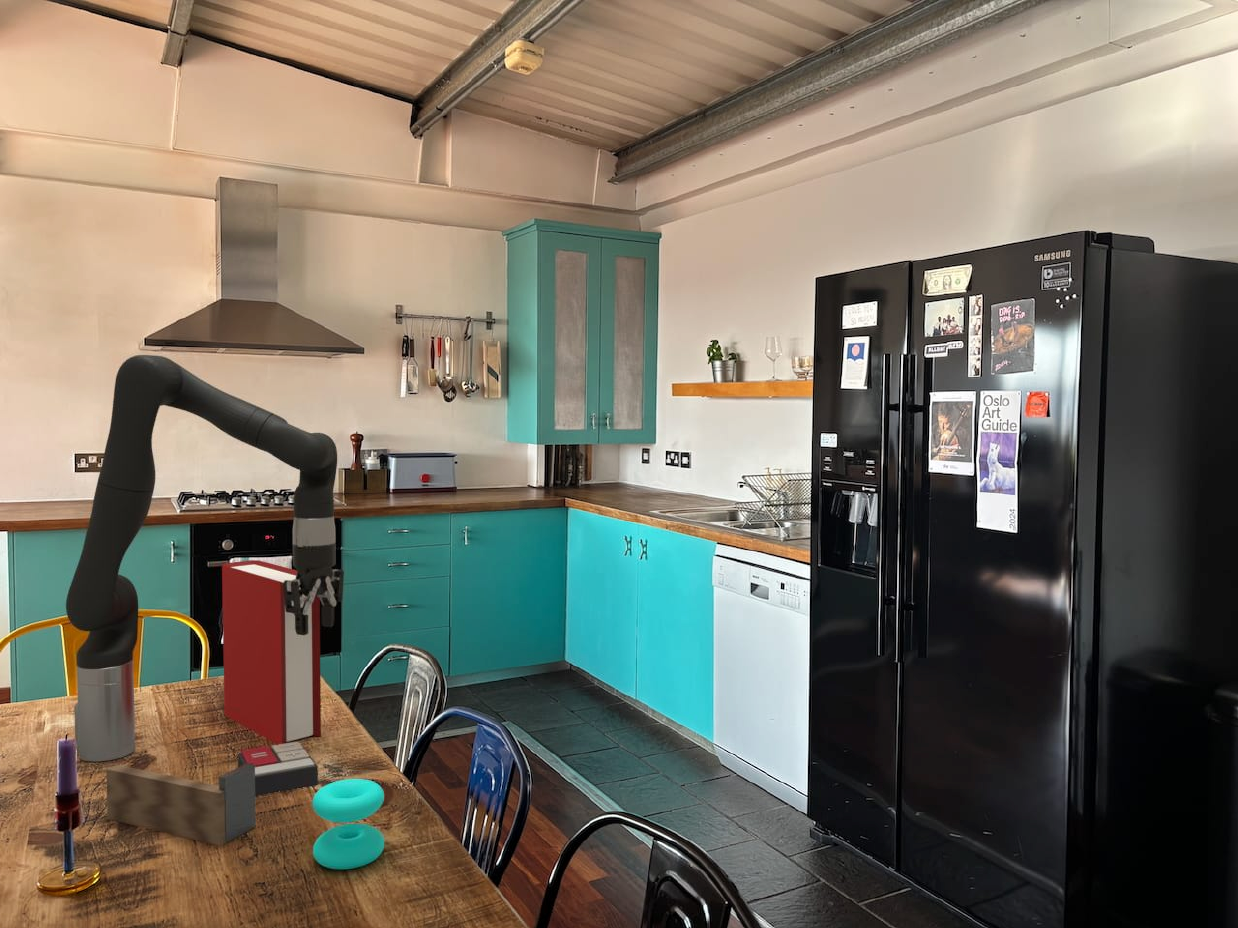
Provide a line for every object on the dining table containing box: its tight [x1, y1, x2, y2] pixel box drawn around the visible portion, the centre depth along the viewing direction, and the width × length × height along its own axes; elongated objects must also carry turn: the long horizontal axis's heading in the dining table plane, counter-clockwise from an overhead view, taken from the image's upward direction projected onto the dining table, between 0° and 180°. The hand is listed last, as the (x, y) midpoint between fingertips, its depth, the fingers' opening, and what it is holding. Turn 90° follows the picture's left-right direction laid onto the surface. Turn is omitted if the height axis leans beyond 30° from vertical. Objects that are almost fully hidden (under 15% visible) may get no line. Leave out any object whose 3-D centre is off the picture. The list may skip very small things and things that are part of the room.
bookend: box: [218, 763, 257, 844], centre depth 143 cm, size 1×6×10 cm, turn 158°
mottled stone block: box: [105, 764, 227, 847], centre depth 147 cm, size 23×7×8 cm, turn 68°
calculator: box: [237, 741, 319, 797], centre depth 166 cm, size 11×4×15 cm
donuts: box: [312, 778, 385, 870], centre depth 136 cm, size 10×10×10 cm
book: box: [221, 559, 322, 745], centre depth 191 cm, size 27×8×32 cm, turn 46°
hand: (315, 630), depth 175 cm, fingers open, 6 cm apart
